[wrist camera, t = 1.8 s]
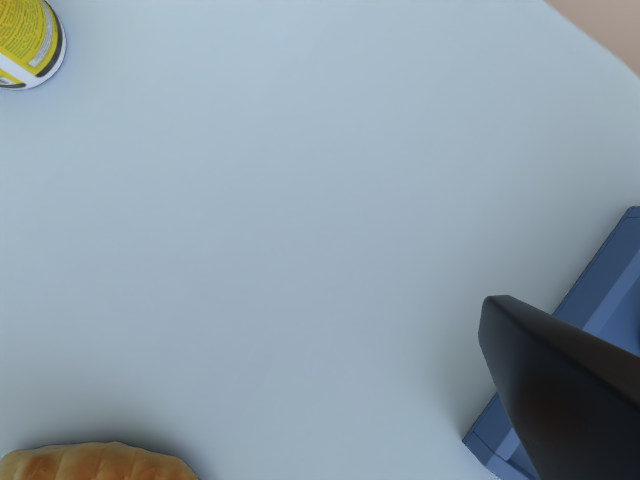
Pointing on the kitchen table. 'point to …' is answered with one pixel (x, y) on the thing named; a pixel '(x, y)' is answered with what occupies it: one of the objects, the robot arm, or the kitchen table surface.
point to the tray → (584, 313)
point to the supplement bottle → (29, 43)
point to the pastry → (92, 463)
